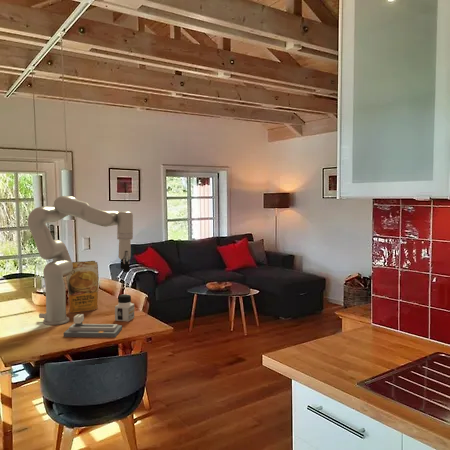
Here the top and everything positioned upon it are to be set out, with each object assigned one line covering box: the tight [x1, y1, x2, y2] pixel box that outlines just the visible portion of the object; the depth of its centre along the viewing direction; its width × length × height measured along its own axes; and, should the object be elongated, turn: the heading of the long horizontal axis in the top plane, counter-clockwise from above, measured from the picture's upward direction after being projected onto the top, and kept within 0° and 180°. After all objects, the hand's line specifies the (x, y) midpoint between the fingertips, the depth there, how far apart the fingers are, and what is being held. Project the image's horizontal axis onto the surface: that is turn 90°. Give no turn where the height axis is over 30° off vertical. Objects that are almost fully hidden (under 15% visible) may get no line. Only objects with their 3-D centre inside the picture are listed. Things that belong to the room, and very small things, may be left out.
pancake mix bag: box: [65, 260, 100, 314], centre depth 238 cm, size 7×19×28 cm, turn 123°
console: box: [63, 323, 123, 338], centre depth 200 cm, size 24×12×4 cm, turn 89°
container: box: [114, 293, 135, 322], centre depth 223 cm, size 8×8×13 cm
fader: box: [73, 313, 85, 327], centre depth 200 cm, size 3×5×6 cm, turn 179°
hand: (125, 270), depth 211 cm, fingers open, 9 cm apart
